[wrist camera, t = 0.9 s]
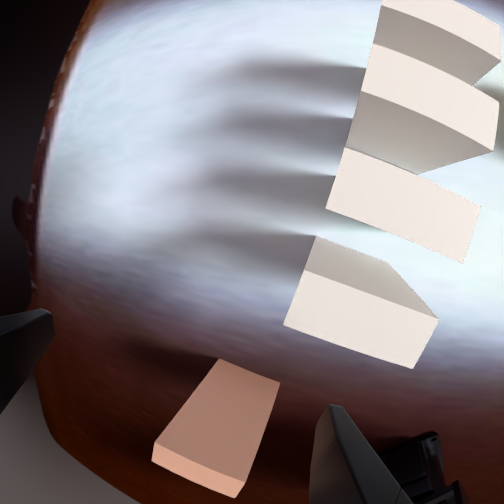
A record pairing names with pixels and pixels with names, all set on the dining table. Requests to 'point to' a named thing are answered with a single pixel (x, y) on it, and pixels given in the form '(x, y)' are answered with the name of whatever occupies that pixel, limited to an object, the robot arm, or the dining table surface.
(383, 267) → the tile
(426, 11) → the tile end
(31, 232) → the dining table surface
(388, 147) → the tile
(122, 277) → the dining table surface
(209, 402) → the tile
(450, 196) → the tile
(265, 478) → the dining table surface
